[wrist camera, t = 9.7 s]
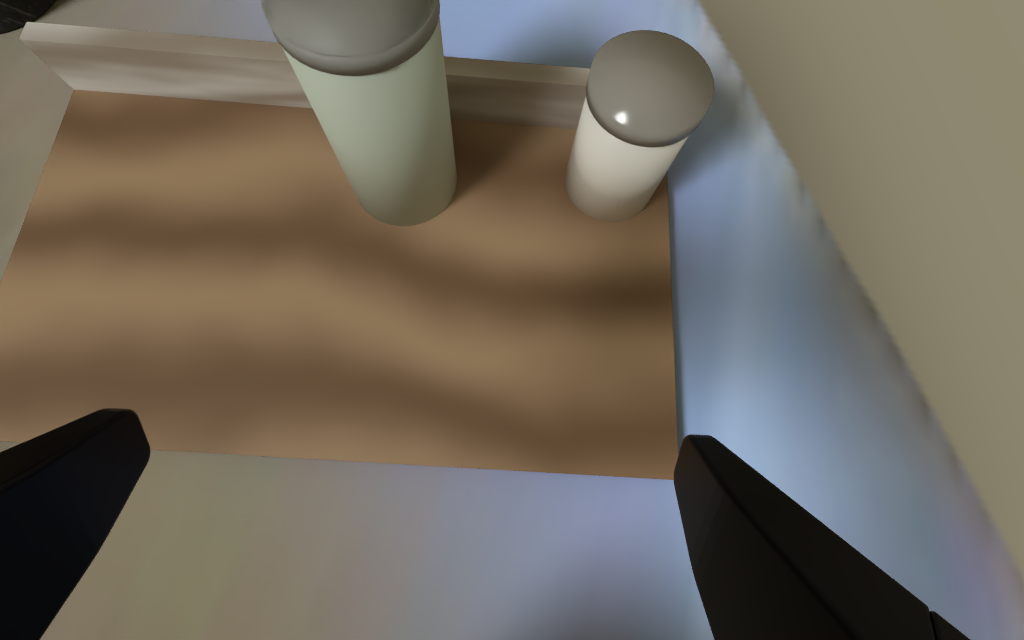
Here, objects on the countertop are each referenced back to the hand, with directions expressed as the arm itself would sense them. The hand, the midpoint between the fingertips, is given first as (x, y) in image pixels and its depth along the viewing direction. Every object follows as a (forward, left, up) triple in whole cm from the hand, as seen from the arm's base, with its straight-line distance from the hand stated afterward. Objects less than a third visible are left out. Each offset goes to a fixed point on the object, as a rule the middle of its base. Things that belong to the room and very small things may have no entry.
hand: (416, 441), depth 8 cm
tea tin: (+13, +4, -13) cm, 18 cm away
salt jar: (+13, -6, -13) cm, 20 cm away
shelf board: (+8, +6, -14) cm, 17 cm away
